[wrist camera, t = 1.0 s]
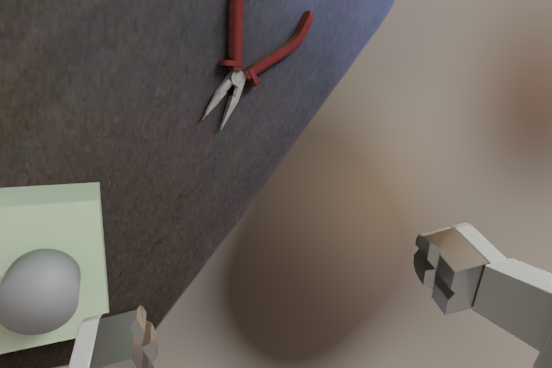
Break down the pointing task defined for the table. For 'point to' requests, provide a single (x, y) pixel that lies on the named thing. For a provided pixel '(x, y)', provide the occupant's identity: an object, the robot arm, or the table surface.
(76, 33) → the table surface
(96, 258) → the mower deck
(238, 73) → the pliers
